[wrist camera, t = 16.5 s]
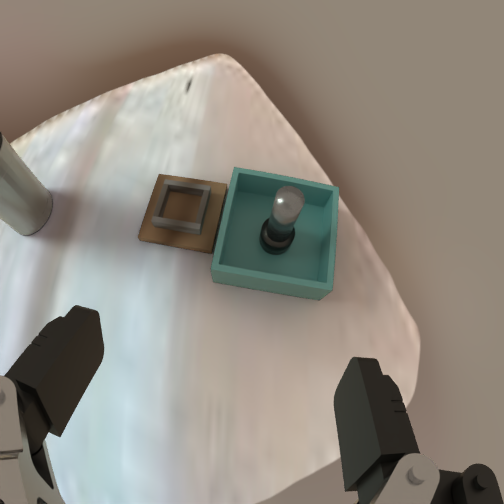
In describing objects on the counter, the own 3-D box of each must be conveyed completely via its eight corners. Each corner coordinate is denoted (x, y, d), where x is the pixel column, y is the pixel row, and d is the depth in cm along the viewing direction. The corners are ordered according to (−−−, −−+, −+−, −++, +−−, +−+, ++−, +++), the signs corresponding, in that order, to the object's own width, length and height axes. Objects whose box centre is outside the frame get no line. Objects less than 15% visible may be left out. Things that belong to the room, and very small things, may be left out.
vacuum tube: (256, 251, 45) (266, 212, 33) (262, 222, 46) (272, 176, 35) (288, 257, 45) (308, 221, 33) (293, 228, 46) (312, 185, 35)
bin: (213, 281, 44) (210, 269, 38) (233, 189, 49) (234, 167, 43) (319, 300, 44) (332, 290, 38) (327, 206, 49) (339, 187, 43)
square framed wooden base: (139, 240, 45) (134, 231, 42) (160, 178, 49) (156, 166, 46) (211, 253, 45) (210, 245, 42) (227, 188, 49) (227, 176, 46)
